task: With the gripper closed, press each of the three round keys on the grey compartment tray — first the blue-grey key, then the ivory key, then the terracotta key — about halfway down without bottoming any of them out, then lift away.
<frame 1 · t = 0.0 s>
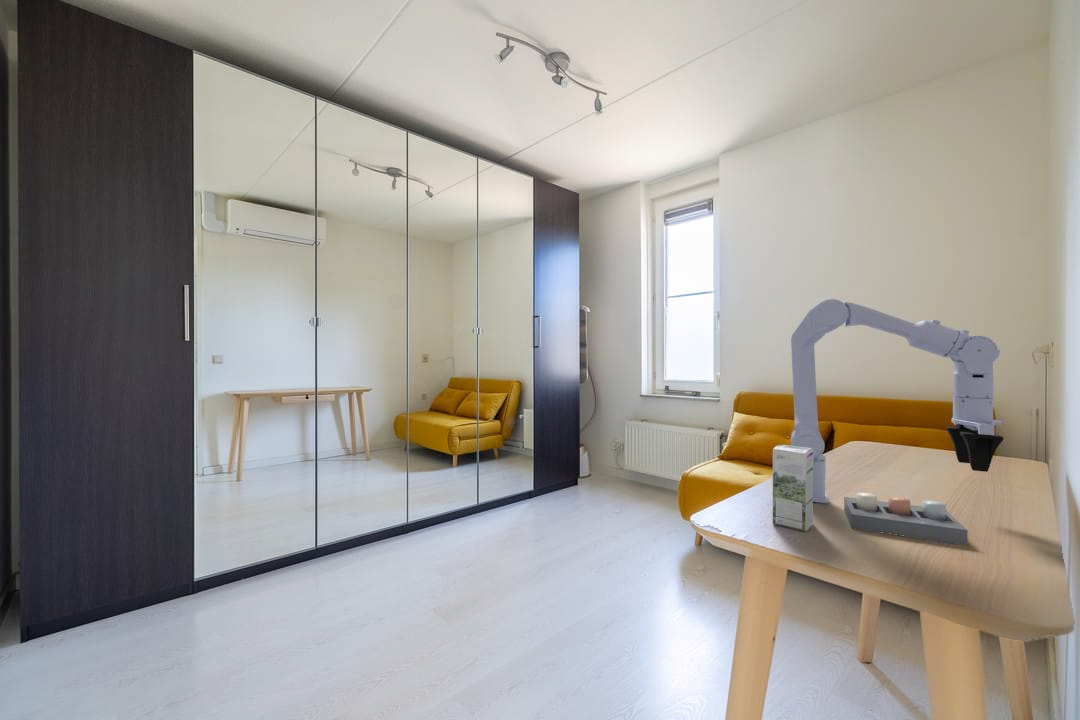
hand: (972, 466, 89), 10 cm above the table, tool pointing down, fingers open, 7 cm apart
terracotta key: (899, 506, 85), point 4 cm above the table, slide at 0.0 cm
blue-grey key: (933, 510, 82), point 4 cm above the table, slide at 0.0 cm
syrup box: (792, 525, 85), on the table
grey compartment tray: (899, 525, 85), on the table
ivory key: (866, 502, 87), point 4 cm above the table, slide at 0.0 cm
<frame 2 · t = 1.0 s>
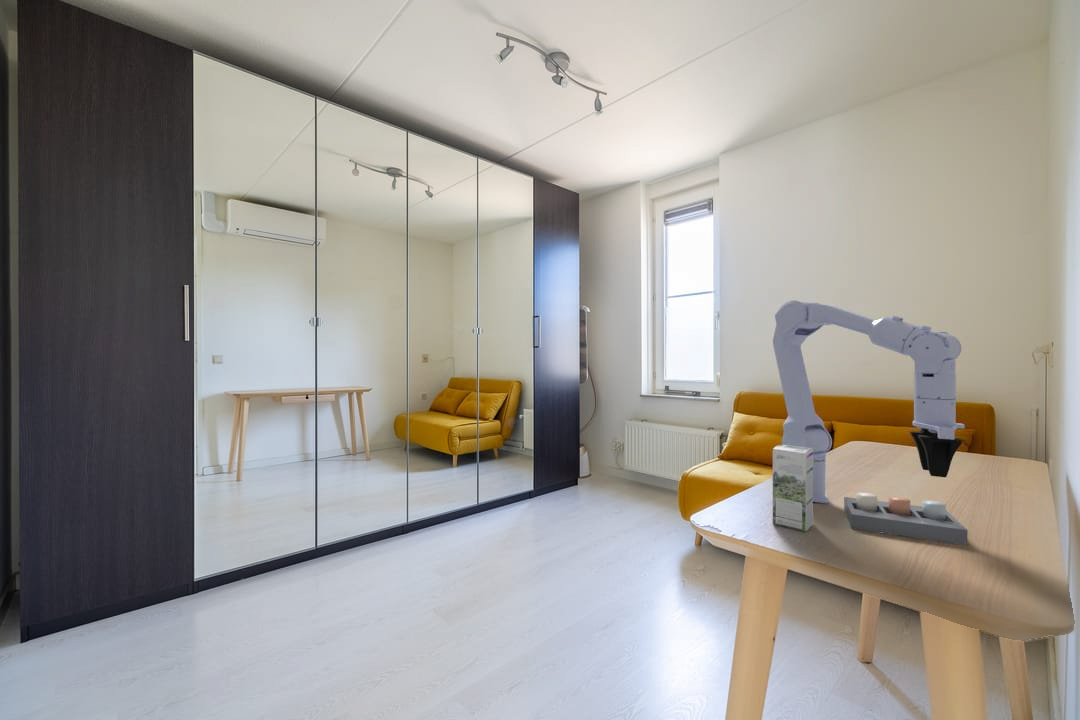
hand: (934, 473, 82), 10 cm above the table, tool pointing down, fingers open, 4 cm apart
nothing on the table moved.
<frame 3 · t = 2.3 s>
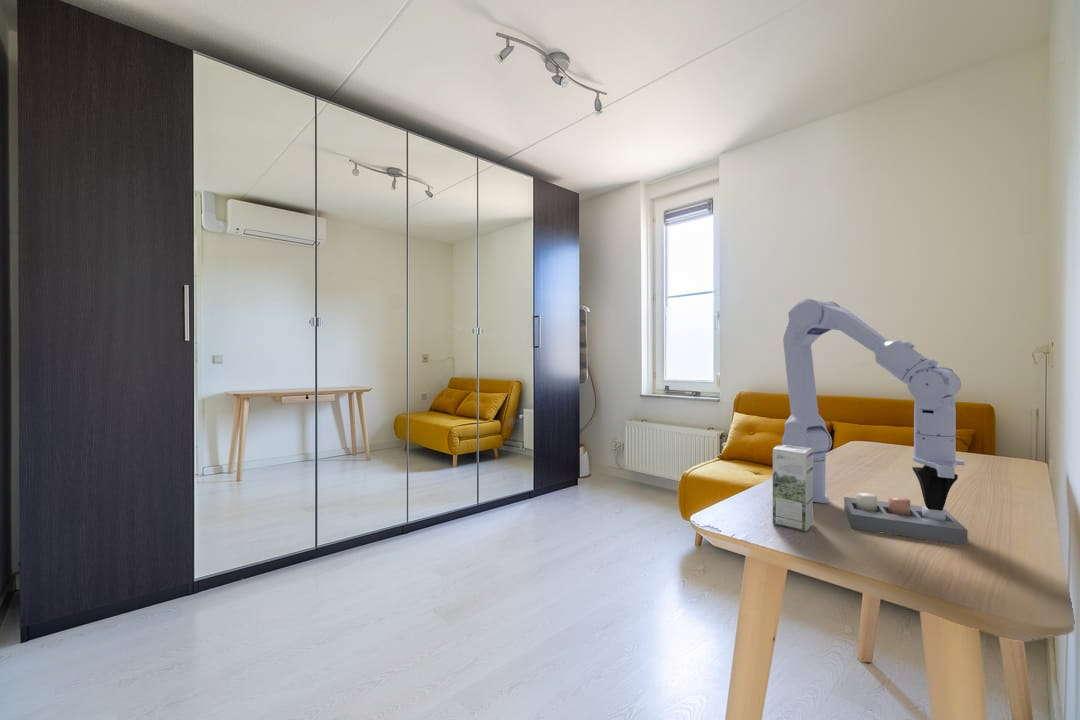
hand: (934, 509, 82), 4 cm above the table, tool pointing down, fingers closed, pressing on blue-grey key
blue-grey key: (933, 516, 82), point 3 cm above the table, slide at 1.1 cm, touching gripper
everything else where it was.
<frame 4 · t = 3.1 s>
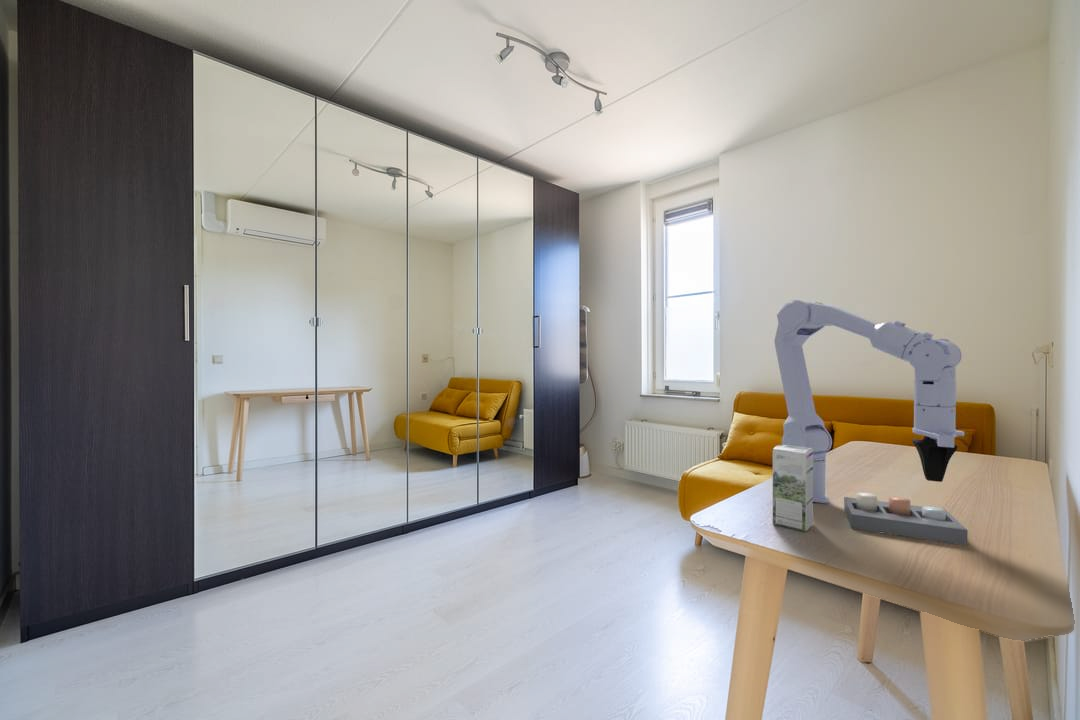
hand: (933, 480, 82), 9 cm above the table, tool pointing down, fingers closed
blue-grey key: (933, 516, 82), point 3 cm above the table, slide at 1.1 cm
everything else where it was.
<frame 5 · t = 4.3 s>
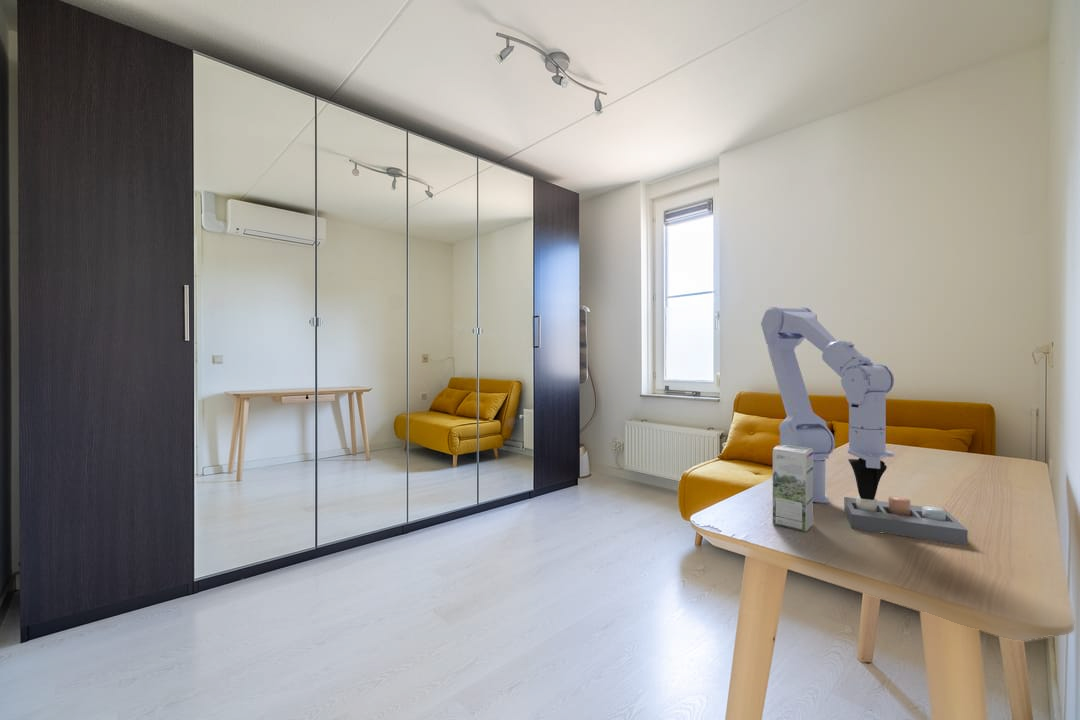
hand: (866, 498, 87), 4 cm above the table, tool pointing down, fingers closed, pressing on ivory key
ivory key: (866, 505, 87), point 3 cm above the table, slide at 0.6 cm, touching gripper
everything else where it was.
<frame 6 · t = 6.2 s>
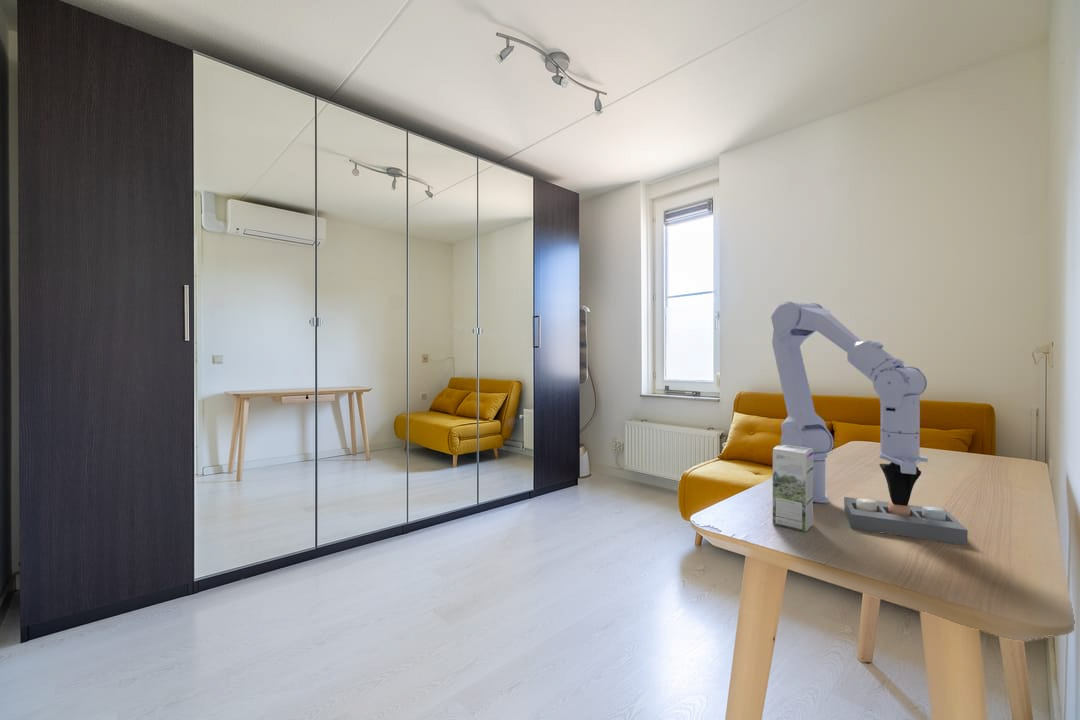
hand: (899, 504, 85), 4 cm above the table, tool pointing down, fingers closed, pressing on terracotta key
terracotta key: (899, 511, 85), point 3 cm above the table, slide at 1.0 cm, touching gripper
ivory key: (866, 507, 87), point 3 cm above the table, slide at 1.1 cm
everything else where it was.
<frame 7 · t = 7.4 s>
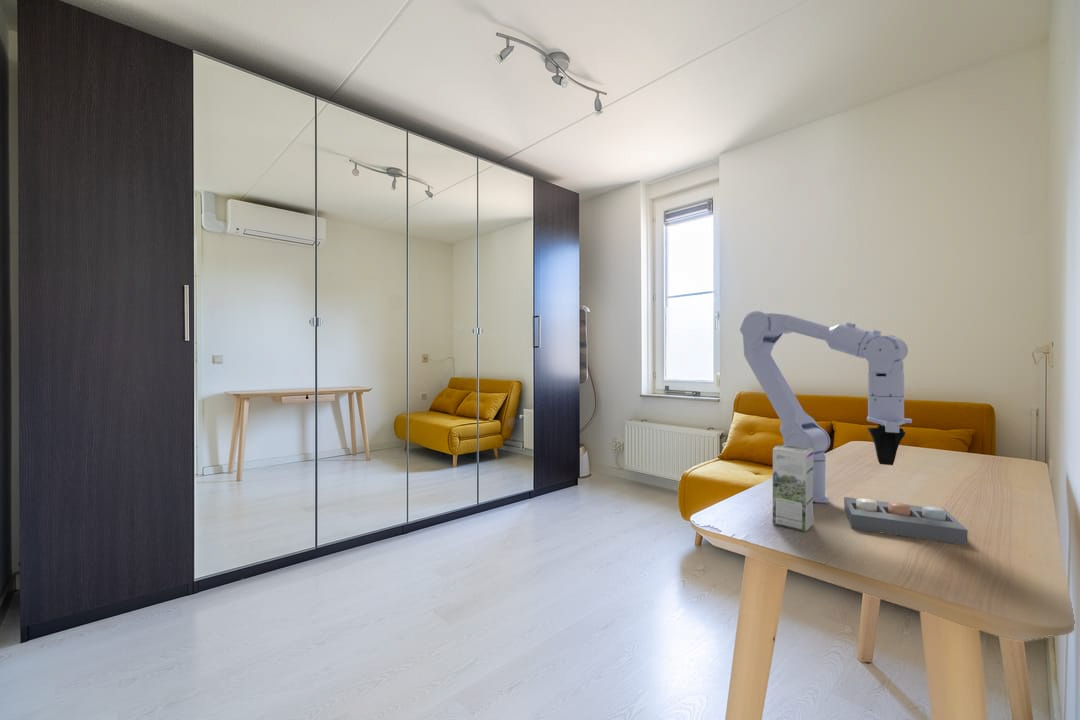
hand: (885, 464, 90), 10 cm above the table, tool pointing down, fingers closed
terracotta key: (899, 512, 85), point 3 cm above the table, slide at 1.1 cm
everything else where it was.
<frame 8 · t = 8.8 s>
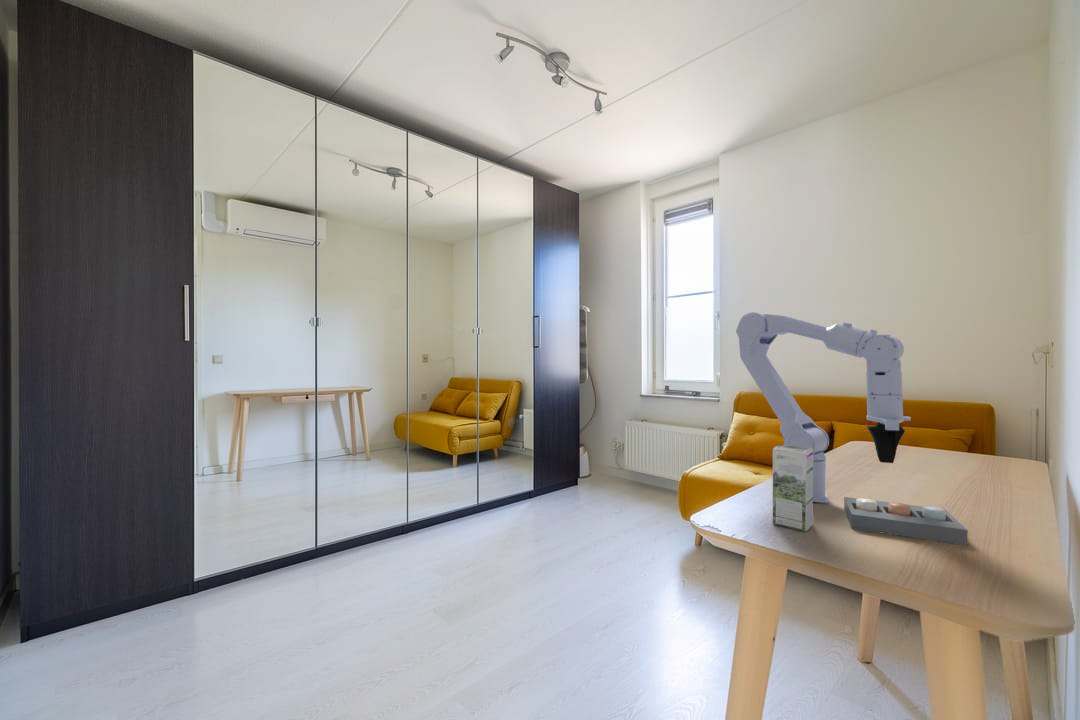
hand: (886, 462, 91), 10 cm above the table, tool pointing down, fingers closed
nothing on the table moved.
at the end: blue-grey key slide at 1.1 cm; ivory key slide at 1.1 cm; terracotta key slide at 1.1 cm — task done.
